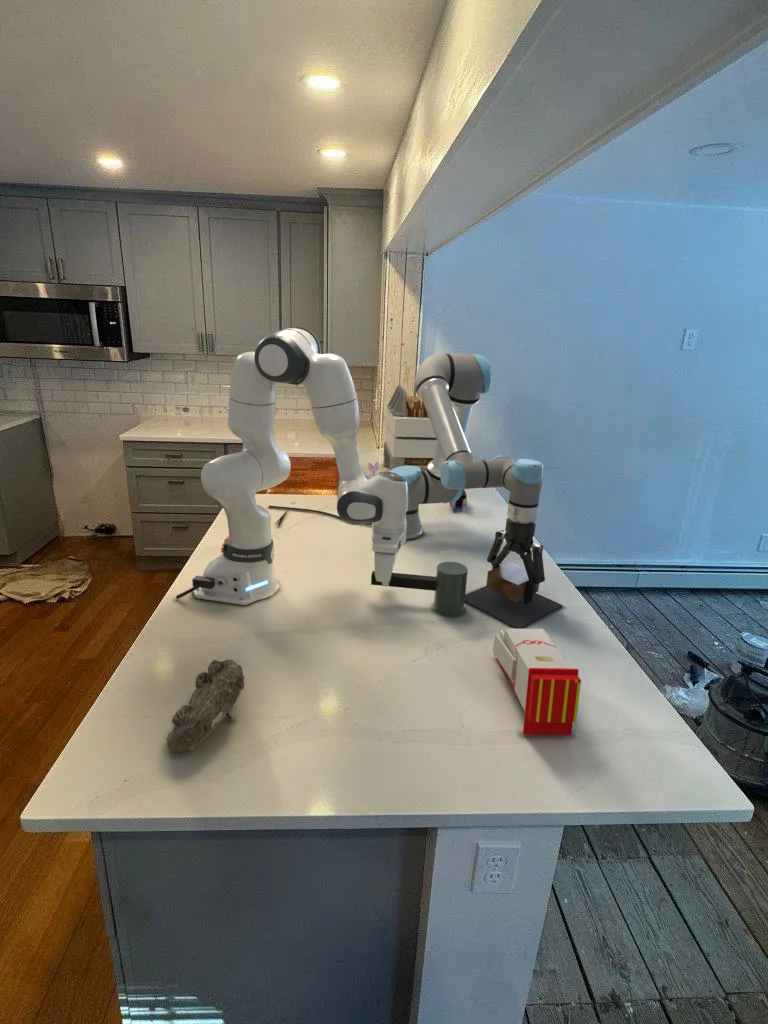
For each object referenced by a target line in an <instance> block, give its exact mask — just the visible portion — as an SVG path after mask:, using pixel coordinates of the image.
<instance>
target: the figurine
mask: <svg viewBox="0 0 768 1024" xmlns="http://www.w3.org/2000/svg"><path fill="white" fill-rule="evenodd" d="M379 465H380V463H379V461H376V462H375V463H374V465H372V463H371V462H368V463H367V468H368V469H367V473H366V476H367V477H368V478H369V479H371V478H372V477H374V476H376V475H377V474H378V473H379V471H378V469H379Z"/></svg>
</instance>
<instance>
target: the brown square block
mask: <svg viewBox="0 0 768 1024" xmlns="http://www.w3.org/2000/svg"><path fill="white" fill-rule="evenodd" d="M499 566H500V565H499ZM486 574H487V575H486V582H485V583H486V585H485V586H486V588H487V589H489V590H491V591H493V592H496V593H498V594H500V595H502V596H504V597H506V598H508V599H510V600H512V601H514V602H517V601H519V600H521V599H523V598H524V597H525V590H526V582H528V581H529V579H528V575H527V572H526V569H525V567H524V566H520V565H518V564H516V563H513V562H508V563H506V564H502V565H501V566H500V567H498V568H495V569H493V570H492V569H490V570H487V573H486ZM539 589H540V583H539V584H537V588H536V592H535V593H539Z"/></svg>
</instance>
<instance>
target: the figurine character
mask: <svg viewBox="0 0 768 1024" xmlns="http://www.w3.org/2000/svg"><path fill="white" fill-rule="evenodd" d="M467 495H468V494H467V493H466V489H463V492H462V494H461V496H460V498H459V499H458V500H456V501H454V502H448V504H449V506H450V507H451V508H452V510H453V512H456V510H458V509H459V510H460V512H463V509H464V508H465V509H466V508H467V506H468V499H467V497H468V496H467Z"/></svg>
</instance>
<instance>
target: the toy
mask: <svg viewBox="0 0 768 1024" xmlns="http://www.w3.org/2000/svg"><path fill="white" fill-rule="evenodd" d="M499 632H500V633H499V634H496V633H495V635H494V641H493V649H492V653H493V654H494V655H495V657H496V658H495V659H496V660H497V662H498V663H499V665H500V668H501V670H502V671H503V672H504V674H505V676H506V678H507V680H508V681H509V683H510V685H511V686H512V688H513V689H514V693H515V694H516V696H517V698H518V701H519V702H520V704H521V706H522V708H523V711H524V719H523V728H522V734H523V735H524V736H525V735H527V736H572V733H573V725H574V723H577V718H578V711H579V702H580V694H581V693H580V692H581V686H582V685H581V684H582V679H581V677H580V676H579V671H580V670H579V669H578V668H573V667H572V665H571V664H570V663H569V662H568V660H567V659H566V657H565V656H564V654H562V652H561V650H560V649H559V648H558V646H557V645H556V644H555V643H554V641H553V640H552V639H551V637H550V636H549V634H548V633H547V631H546V630H545V629H544V628H521V629H515V628H512V627H509V628H508V627H507V628H506V627H505V628H504V629H501V630H500V631H499Z"/></svg>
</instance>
